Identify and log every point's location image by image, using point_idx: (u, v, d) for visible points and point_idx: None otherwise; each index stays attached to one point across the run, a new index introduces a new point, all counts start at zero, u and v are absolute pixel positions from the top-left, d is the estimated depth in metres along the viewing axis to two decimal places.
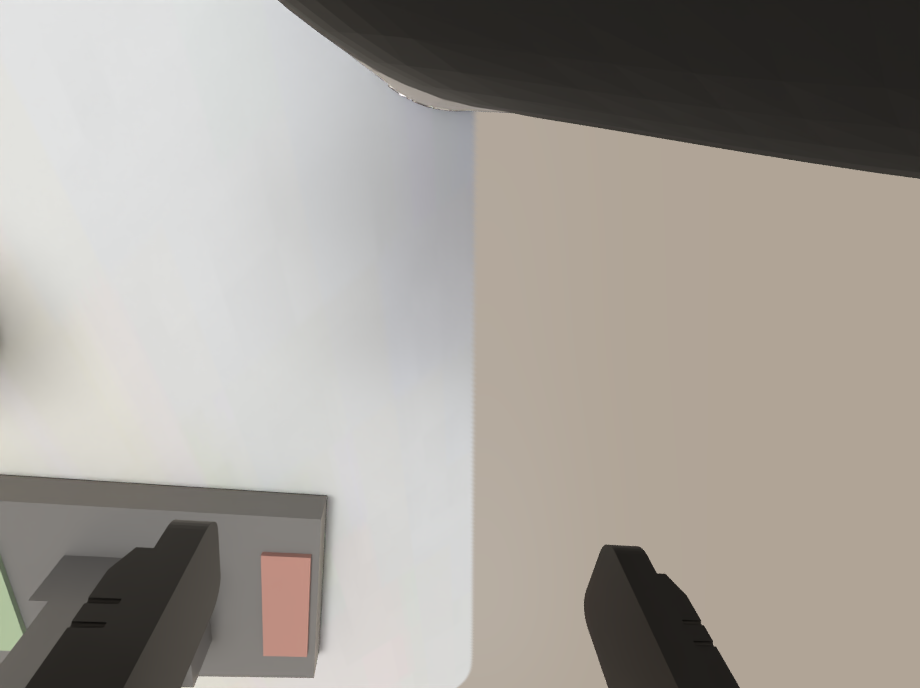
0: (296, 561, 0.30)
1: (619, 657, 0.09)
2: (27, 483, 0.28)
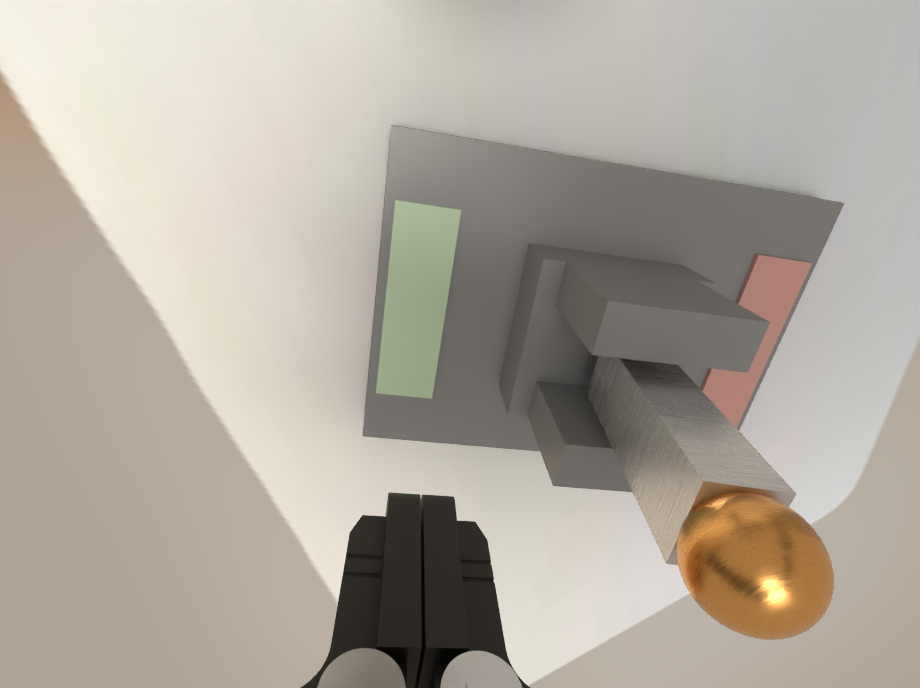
0: (793, 268, 0.24)
1: None
2: (497, 143, 0.23)
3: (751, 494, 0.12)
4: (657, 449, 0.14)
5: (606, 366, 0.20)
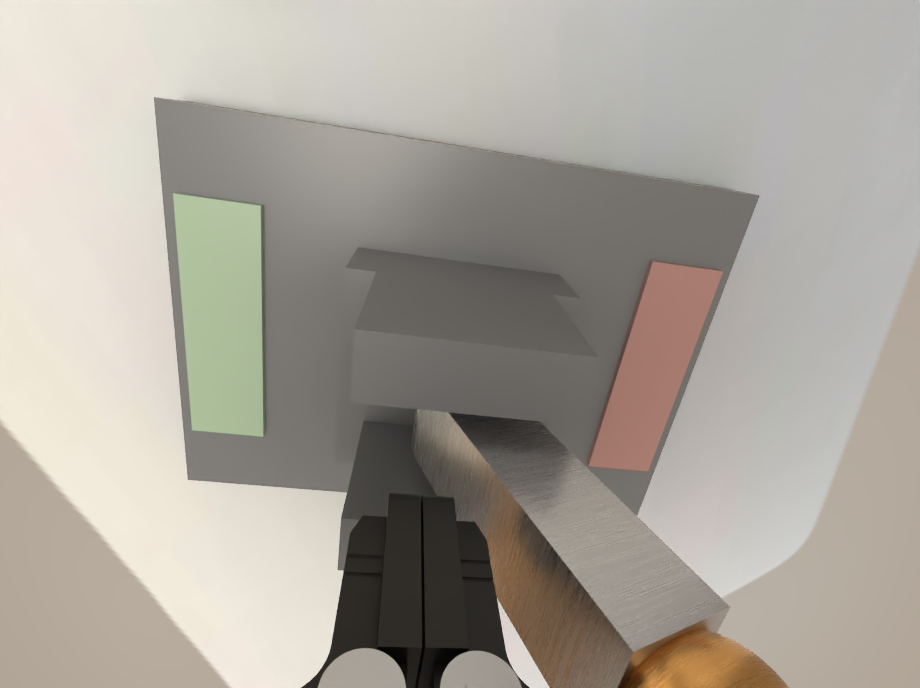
0: (699, 277, 0.20)
1: None
2: (313, 122, 0.18)
3: (695, 648, 0.08)
4: (538, 569, 0.10)
5: (432, 420, 0.14)
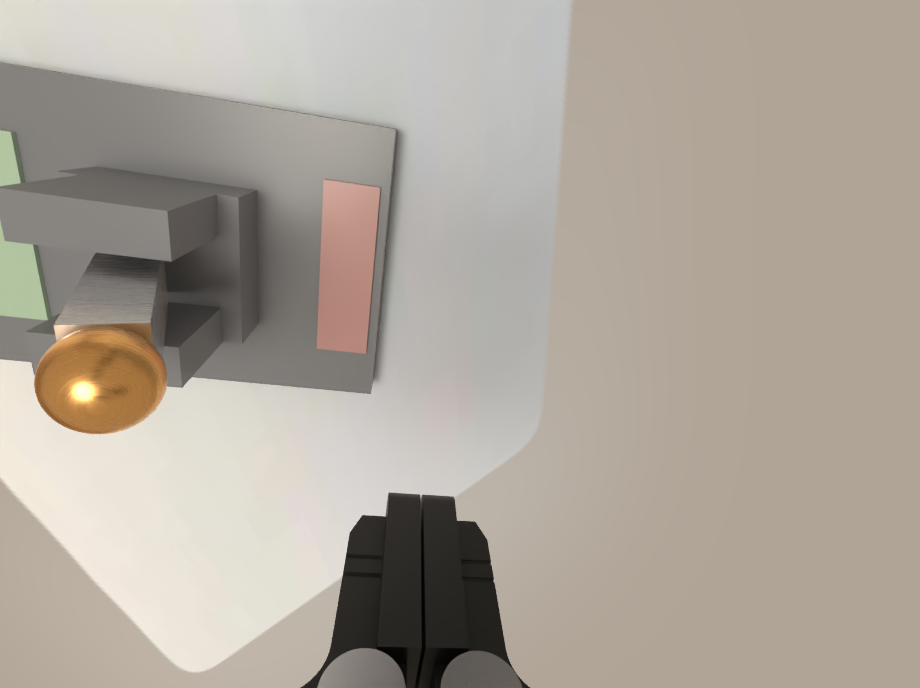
0: (363, 192, 0.26)
1: None
2: None
3: (94, 327, 0.14)
4: None
5: None
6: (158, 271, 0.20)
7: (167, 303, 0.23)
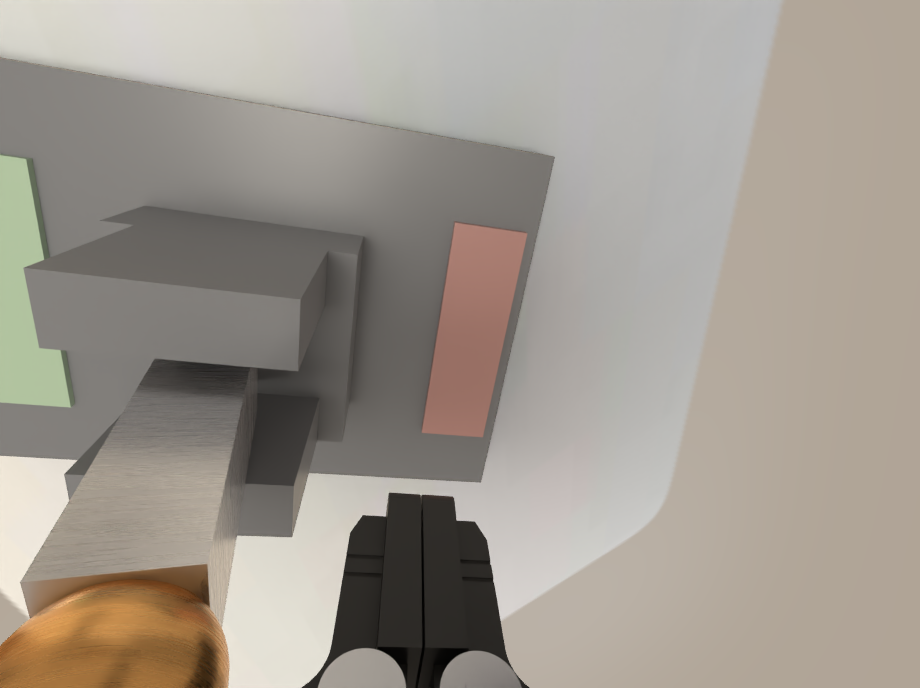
0: (505, 239, 0.20)
1: None
2: (88, 73, 0.17)
3: (96, 591, 0.07)
4: None
5: None
6: (244, 390, 0.12)
7: (255, 410, 0.16)
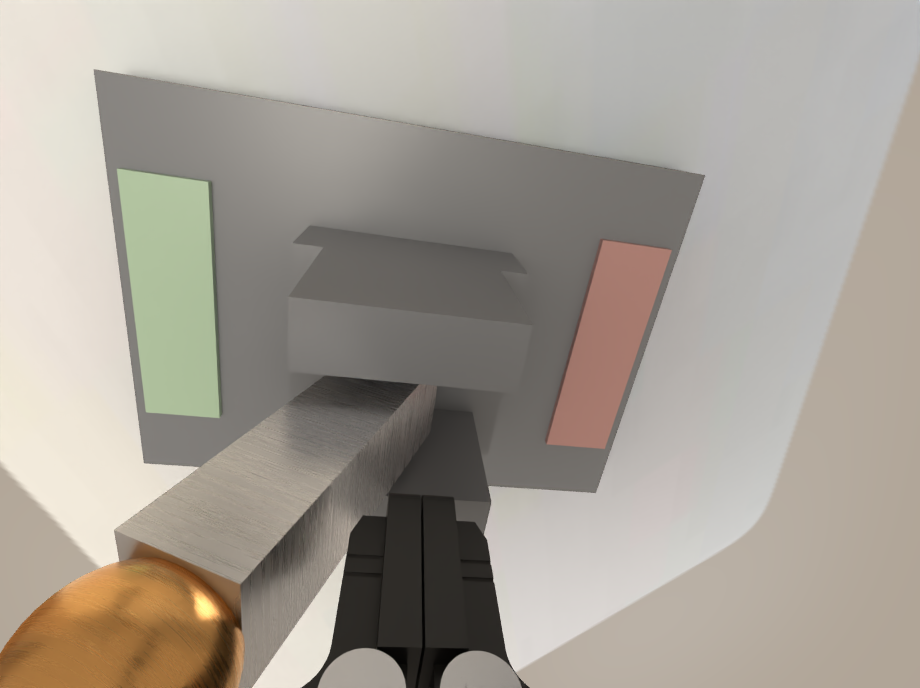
0: (649, 256, 0.20)
1: None
2: None
3: (146, 566, 0.07)
4: None
5: None
6: (391, 414, 0.12)
7: (423, 436, 0.16)
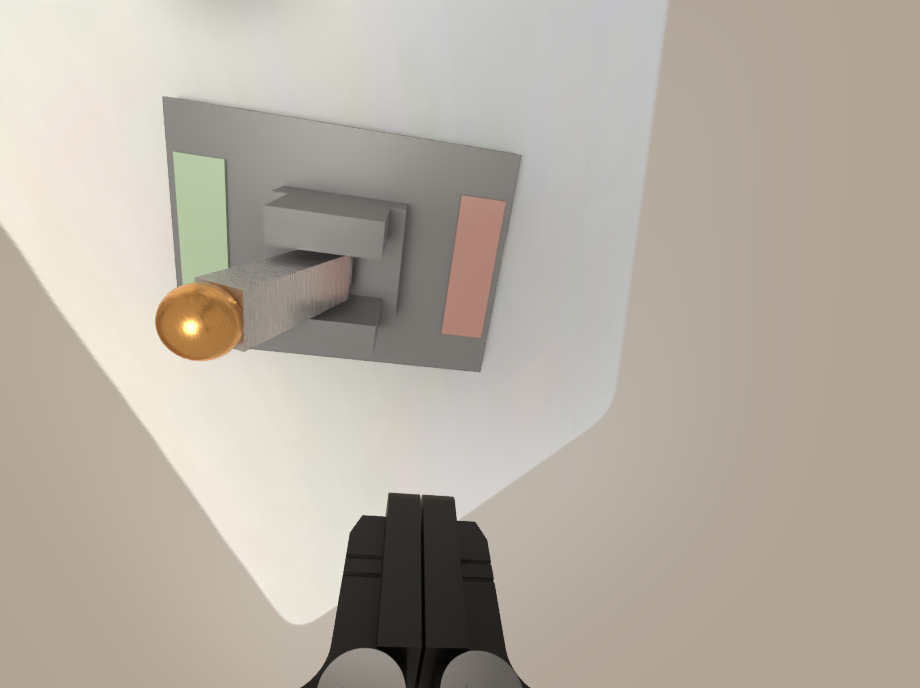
0: (492, 205, 0.33)
1: None
2: (255, 111, 0.31)
3: (208, 283, 0.20)
4: None
5: None
6: (315, 265, 0.25)
7: (343, 297, 0.28)
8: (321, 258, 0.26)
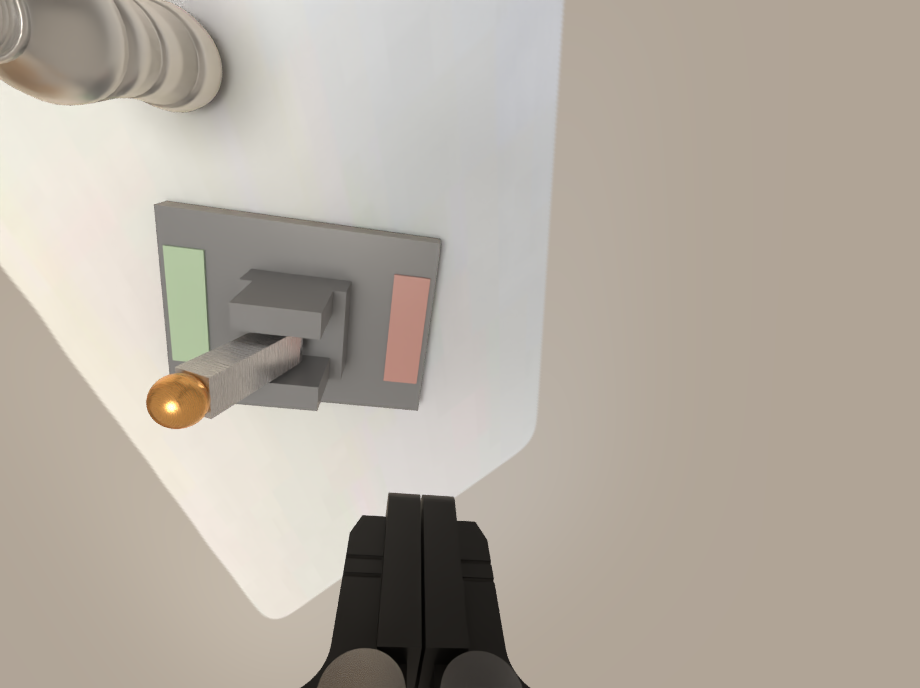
0: (419, 282, 0.41)
1: None
2: (228, 210, 0.39)
3: (184, 373, 0.28)
4: None
5: None
6: (268, 346, 0.33)
7: (295, 362, 0.36)
8: (275, 337, 0.34)
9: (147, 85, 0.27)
